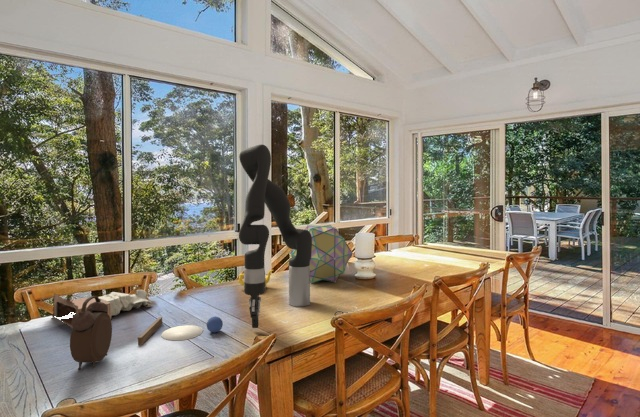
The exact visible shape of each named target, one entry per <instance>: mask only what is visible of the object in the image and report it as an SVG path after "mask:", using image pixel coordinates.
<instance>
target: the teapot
mask: <svg viewBox="0 0 640 417" xmlns="http://www.w3.org/2000/svg"><path fill="white" fill-rule="evenodd" d="M273 271H274V269H270V270H268V272H267V274H266V275H267V276H265V288H266V287H267V284H268V283H269V282H270V278H271V274H272V272H273ZM243 277H244V273H239V277H238V284H240V285H242V286H243V287H244V280H243Z"/></svg>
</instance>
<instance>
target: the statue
mask: <svg viewBox="0 0 640 417" xmlns="http://www.w3.org/2000/svg"><path fill="white" fill-rule="evenodd" d="M147 295H148V294H147V291H145V290H144V289H136V290H135V294H134V293H133V294H129V293H124V292H115V291H112V292H109V293H108V294H105V295H102V296H98V298H99V299H100V300H101V301H100V302H103V303H105V304H106V305H107V307H108V313H107V314H108V315H109V317H110V319H112V316H117V315H119V314H120V313H121V311H122V312H125V311H127V312H129V311H131V310H132V309H133V308H137V307H138V306H145V307H146V306H147V305H148V304H151V305H152V304H153V302H152V301H151V300H149V299H148V298H147ZM89 297H90V296H89ZM89 297H88V296H87V297H82V298H76V299H72V298H70V299H69V298H67V299H66V298H64V297H62V296H61V295H59V294H56V293H53V297H52V300H51V301H52V302H53V308H52V314H51V317H54V316H56V317H62V316H65V315H68V314H69V313H70V312H74V313H76V314H77V313H78V312H80V311H81V310H82V305H83V303H84V301H85V300H86V299H88V298H89ZM93 302H96V300H95V298H93V299H91V300H90V301H89V302H88V303H87V306H86V310H87V307H88V306H89V304H91V303H93ZM86 310H85V311H86ZM71 314H72V313H71ZM61 321H63V322H64V323H66V324H67V325H68V326H67V325H66V324H65V325H66V326H67V327H69V326H70V327H69V328H71V329H73V327H72V318H69V319H61ZM61 321H60V322H61ZM64 323H63V324H64Z"/></svg>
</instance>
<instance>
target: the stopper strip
mask: <svg viewBox="0 0 640 417" xmlns="http://www.w3.org/2000/svg"><path fill="white" fill-rule="evenodd" d="M162 324H163V317H162V316H159V317H158V318H157V319H155V320H154V321H153V322H152V323H151V324H150V325H149V326H148V327H147V328H146V329H145V330H144V331H143V332H142V333H141V334H140V335H139V336H138V337H137V345H138V346H142V345H143V344H144V343H145V342H146V341H148V339H149V338H150V337H151V336H152V335H153V334H154V333H155V332H156V331H157V330H158V329H159V328H160V327H161V325H162Z"/></svg>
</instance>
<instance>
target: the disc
mask: <svg viewBox="0 0 640 417" xmlns="http://www.w3.org/2000/svg"><path fill="white" fill-rule="evenodd" d="M202 333H203V328H202V327H201V326H199V325H198V326H197V325H194V324H193V325H192V324H190V325H187V324H185V325H178V326H174V327H169V328H168V329H166V330H164V331H162V332H161V338H162V339H164V340H166V341H172V342H173V341H178V342H179V341H186V340H191V339H193V338H196V337H198V336H200V335H201V334H202Z"/></svg>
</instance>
